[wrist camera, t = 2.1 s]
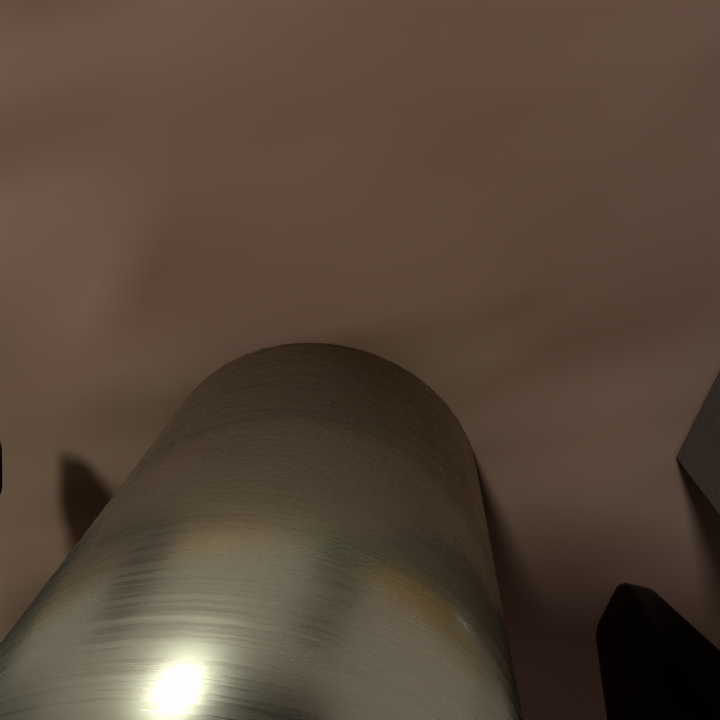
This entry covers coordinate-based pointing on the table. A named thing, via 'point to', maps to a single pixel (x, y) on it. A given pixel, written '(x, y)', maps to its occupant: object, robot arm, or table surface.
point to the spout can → (280, 563)
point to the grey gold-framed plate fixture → (705, 447)
